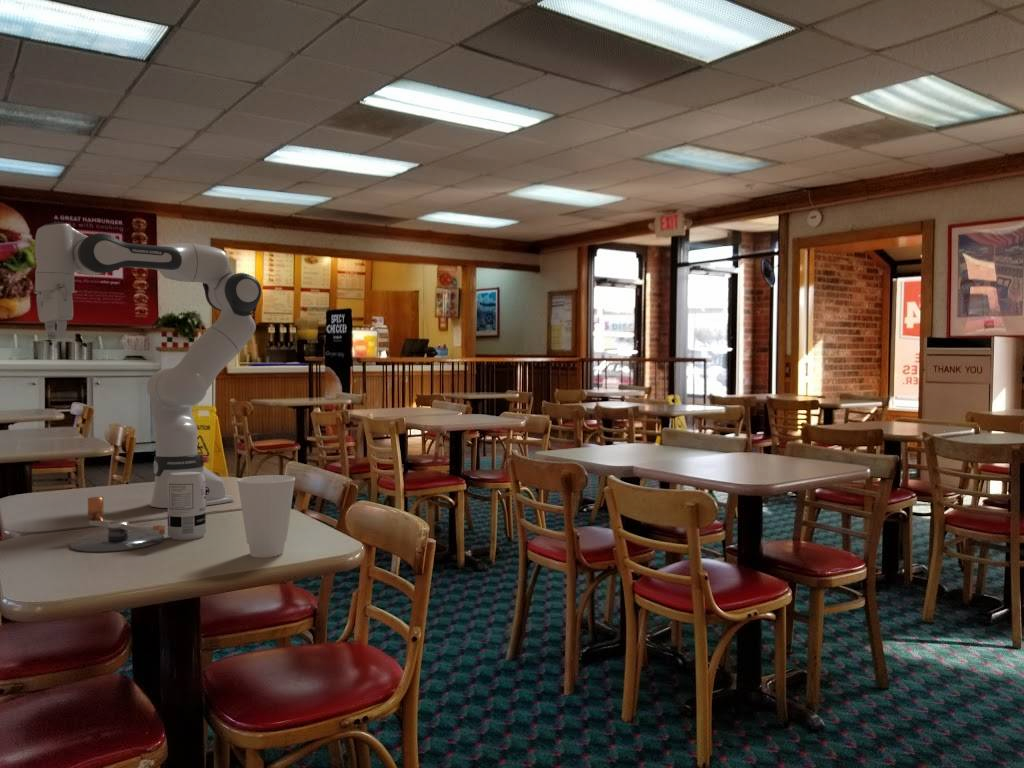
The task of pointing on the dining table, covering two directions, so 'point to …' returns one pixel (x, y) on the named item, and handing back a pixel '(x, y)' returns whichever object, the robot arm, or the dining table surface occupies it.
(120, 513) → the dining table surface
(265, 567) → the dining table surface
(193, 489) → the supplement can
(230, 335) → the robot arm
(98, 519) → the crank
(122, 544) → the dial plate
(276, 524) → the cup
